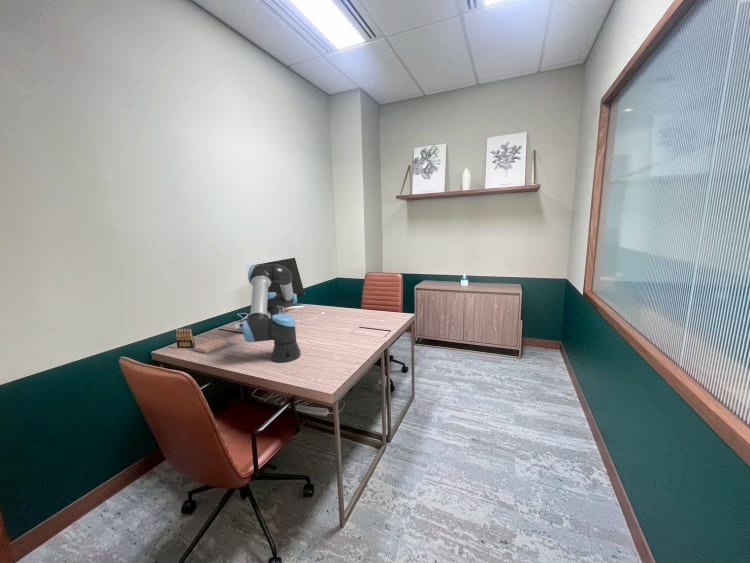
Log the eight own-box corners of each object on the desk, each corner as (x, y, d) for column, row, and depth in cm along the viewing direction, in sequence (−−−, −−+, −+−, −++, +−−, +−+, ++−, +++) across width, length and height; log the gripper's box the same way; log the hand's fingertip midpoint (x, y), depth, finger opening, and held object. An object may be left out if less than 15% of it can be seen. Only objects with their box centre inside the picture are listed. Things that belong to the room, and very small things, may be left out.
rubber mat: (237, 344, 180) (237, 344, 180) (210, 355, 165) (210, 355, 164) (216, 340, 189) (216, 339, 189) (188, 350, 173) (188, 349, 173)
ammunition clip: (177, 348, 177) (174, 329, 175) (179, 347, 179) (176, 328, 177) (193, 348, 175) (190, 329, 174) (195, 347, 177) (192, 328, 175)
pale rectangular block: (226, 341, 179) (205, 349, 167) (227, 344, 180) (205, 353, 167) (216, 339, 184) (194, 347, 171) (216, 342, 184) (194, 350, 172)
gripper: (269, 322, 208) (242, 333, 187) (256, 320, 214) (228, 331, 193) (268, 312, 207) (240, 322, 186) (255, 310, 212) (226, 320, 192)
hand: (234, 326), depth 189 cm, fingers closed
